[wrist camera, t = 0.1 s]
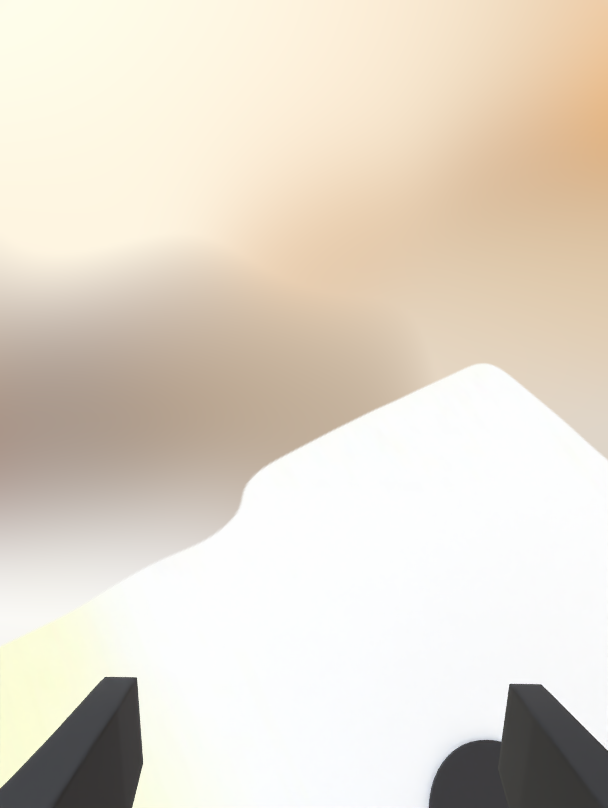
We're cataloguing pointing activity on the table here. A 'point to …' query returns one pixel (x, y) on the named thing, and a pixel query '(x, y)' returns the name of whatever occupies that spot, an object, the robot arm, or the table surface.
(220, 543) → the table surface
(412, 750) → the table surface
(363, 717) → the table surface
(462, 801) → the coaster
